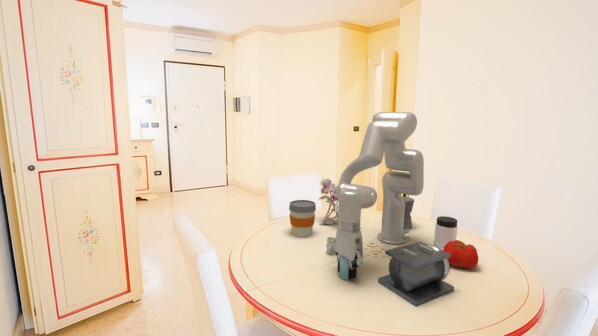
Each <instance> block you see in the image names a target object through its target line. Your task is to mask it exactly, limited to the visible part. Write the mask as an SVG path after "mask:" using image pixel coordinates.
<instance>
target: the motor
mask: <svg viewBox="0 0 598 336" xmlns="http://www.w3.org/2000/svg"><path fill="white" fill-rule="evenodd" d="M384 254H385V255H387V256H389V257H391V258H390V260H389V263H388V273H389V274H386V275H383V276H380V277H378V278H377V283H378V284H380V285H382V286H383V287H384V288H386V289H387V290H389V291H391V292H392V293H394V294H396V295H397V296H399V297H400V298H402V299H404V301H407V302H408V303H410V304H411V305H413V306H414V307H418V306H420V305H423V304H425V303H428V302H430V301H432V300H436V299H437V298H440V297H443V296H444V295H447V294H451V293H452V292H454V291H455V285H452V284H450V283H448V282H446V281H444V280H445V279H447V278H448V276H449V274H450V263H449V262H448V259H447V258H449V257H451V254H449V253H447V252H444V251H443V250H442V248H440V247H439V246H437V245H435V244H434V245H433V244H427V243H425V242H423V241H420V240H419V241H417V242H413V243H410V244H405V245H402V246H397V247H394V248H391V249H386V250H384Z"/></svg>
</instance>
